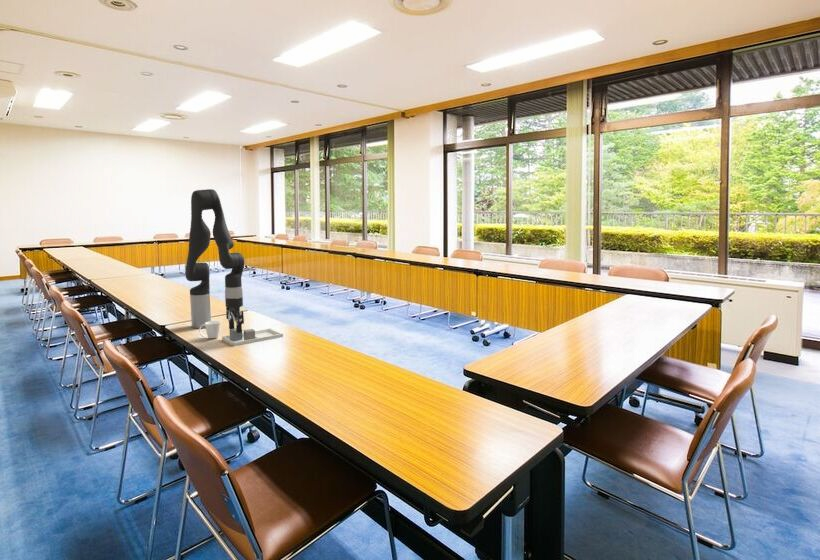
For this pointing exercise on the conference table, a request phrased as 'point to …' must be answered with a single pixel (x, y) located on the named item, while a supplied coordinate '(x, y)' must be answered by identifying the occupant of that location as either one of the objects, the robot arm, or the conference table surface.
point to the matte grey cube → (235, 335)
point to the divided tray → (259, 336)
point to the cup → (211, 329)
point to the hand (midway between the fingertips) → (235, 330)
